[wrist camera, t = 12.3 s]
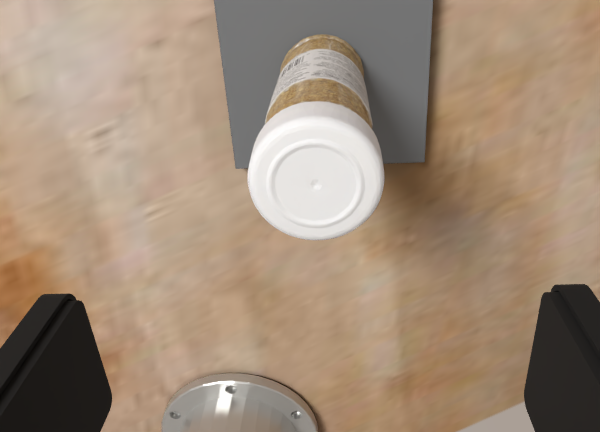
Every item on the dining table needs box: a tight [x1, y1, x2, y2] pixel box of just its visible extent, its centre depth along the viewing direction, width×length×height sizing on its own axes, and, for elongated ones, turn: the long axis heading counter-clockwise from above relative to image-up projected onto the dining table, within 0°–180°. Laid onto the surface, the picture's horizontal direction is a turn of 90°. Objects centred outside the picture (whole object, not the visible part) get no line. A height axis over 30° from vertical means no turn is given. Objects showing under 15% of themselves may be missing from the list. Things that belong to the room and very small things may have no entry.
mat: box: [214, 0, 433, 169], centre depth 30 cm, size 11×11×1 cm
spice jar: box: [248, 34, 384, 240], centre depth 24 cm, size 5×5×13 cm
